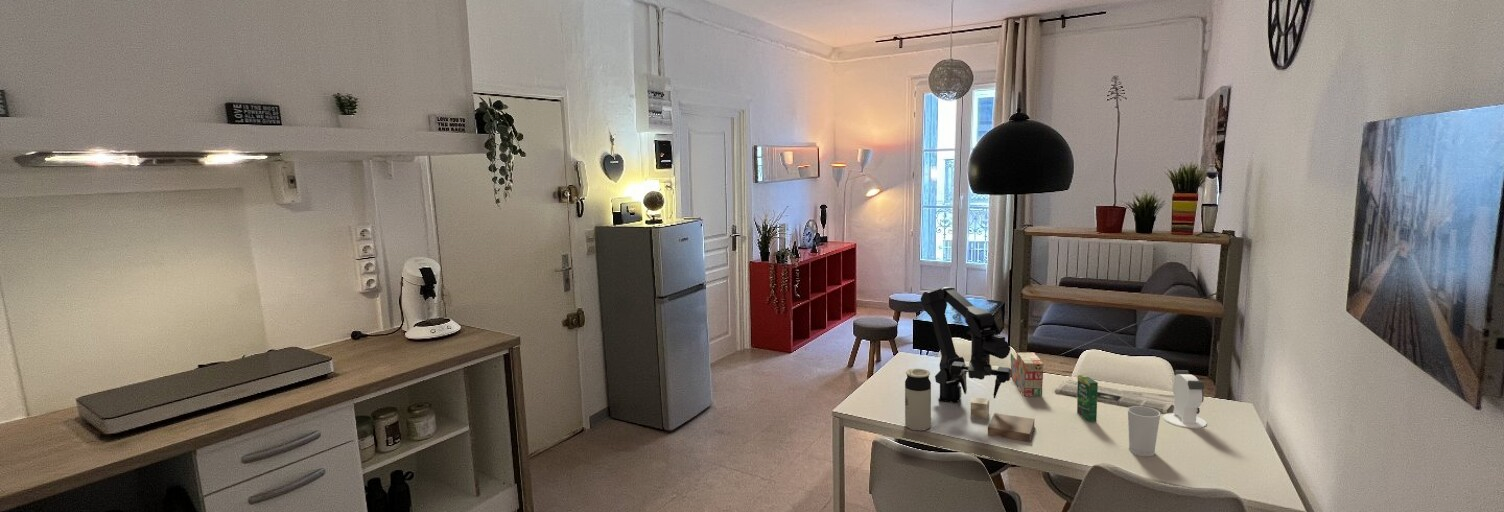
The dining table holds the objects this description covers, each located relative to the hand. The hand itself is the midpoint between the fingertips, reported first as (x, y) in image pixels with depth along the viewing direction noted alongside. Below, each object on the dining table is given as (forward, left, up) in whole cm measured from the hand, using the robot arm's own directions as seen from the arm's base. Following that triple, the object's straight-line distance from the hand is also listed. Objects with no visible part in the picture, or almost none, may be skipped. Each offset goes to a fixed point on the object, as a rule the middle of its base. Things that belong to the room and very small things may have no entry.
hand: (979, 395), depth 217 cm
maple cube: (0, 0, -7) cm, 7 cm away
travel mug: (-16, -17, -7) cm, 24 cm away
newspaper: (+39, +33, -7) cm, 52 cm away
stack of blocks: (+10, +34, -7) cm, 36 cm away
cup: (+46, -9, -7) cm, 47 cm away
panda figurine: (+58, +20, -7) cm, 62 cm away
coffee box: (+31, +11, -7) cm, 34 cm away
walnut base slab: (+11, -9, -7) cm, 16 cm away
